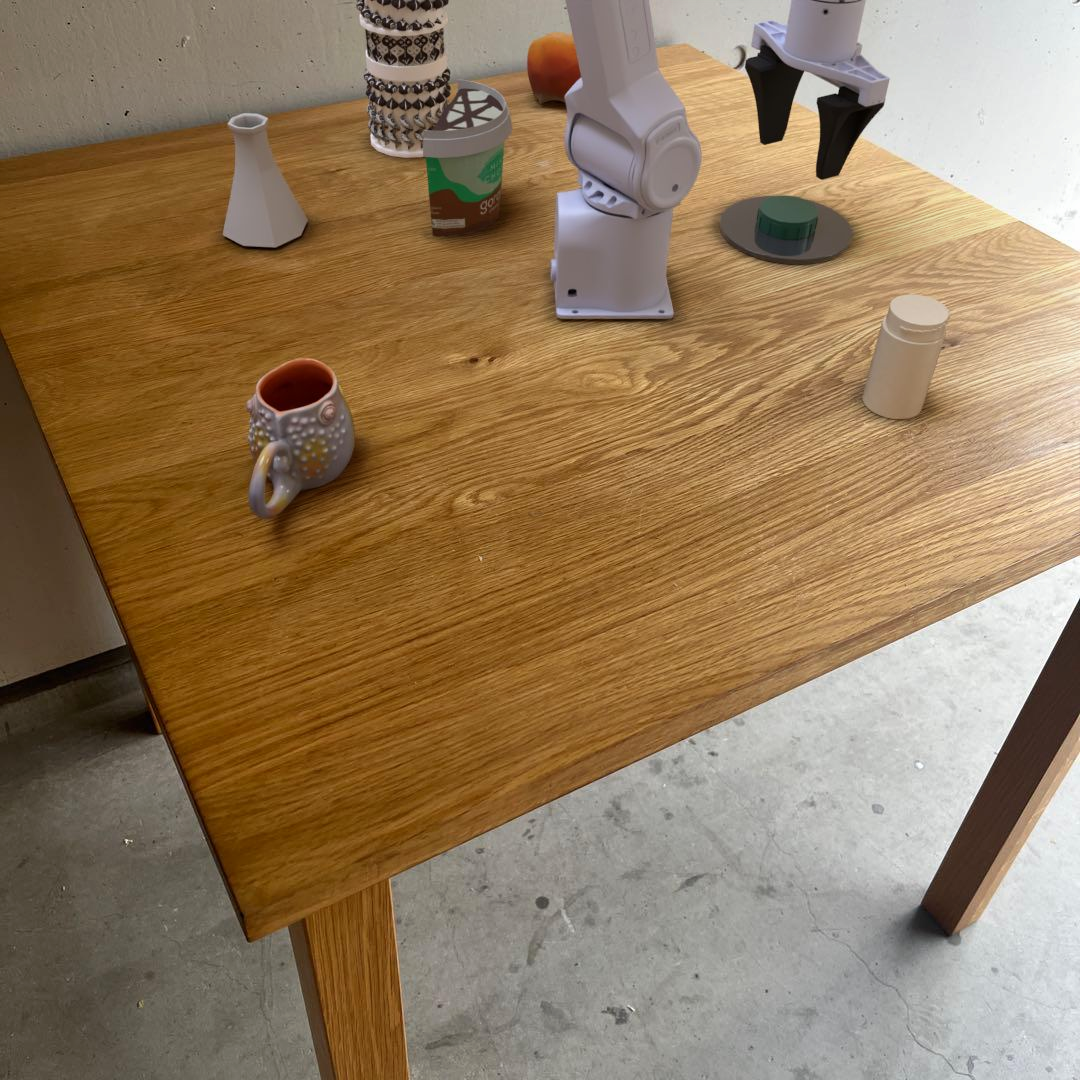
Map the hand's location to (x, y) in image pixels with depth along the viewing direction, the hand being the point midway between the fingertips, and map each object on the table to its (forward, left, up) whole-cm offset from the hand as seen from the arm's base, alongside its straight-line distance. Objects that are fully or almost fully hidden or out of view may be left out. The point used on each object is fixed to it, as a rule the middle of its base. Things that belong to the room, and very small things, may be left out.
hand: (798, 158), depth 96 cm
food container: (-28, +3, -7) cm, 29 cm away
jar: (+3, -26, -7) cm, 27 cm away
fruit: (-19, +30, -7) cm, 36 cm away
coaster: (0, 0, -7) cm, 7 cm away
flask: (-47, 0, -7) cm, 48 cm away
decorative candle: (-35, +19, -7) cm, 40 cm away
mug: (-40, -35, -7) cm, 54 cm away
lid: (0, 0, -5) cm, 5 cm away
